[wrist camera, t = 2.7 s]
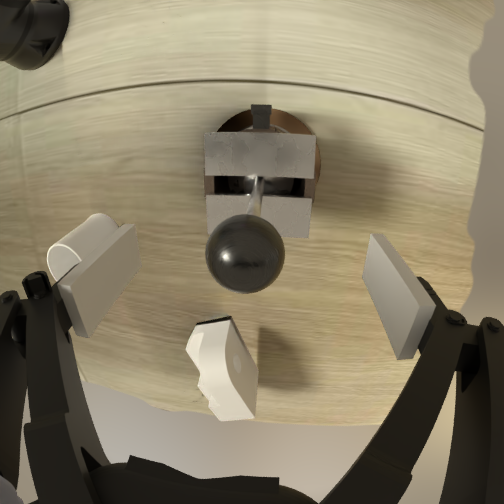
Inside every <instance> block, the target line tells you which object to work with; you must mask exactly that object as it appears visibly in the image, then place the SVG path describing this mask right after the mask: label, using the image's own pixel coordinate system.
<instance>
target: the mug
mask: <svg viewBox="0 0 504 504" xmlns="http://www.w3.org/2000/svg"><path fill="white" fill-rule="evenodd" d="M117 229H119V226H118V224H117V223H116V222H115V221H114V220H113V219H112V218H111V217H109V216H107V215H105V214H101V213H97V214H93V215H91V216H90V217H89V218H88V219H87V220H86V221H85V222H84V223H82V224H81V225H79V226H78V227H77V228H75V229H74V230H72V231H71V232H70V233H68V234H67V235H66V236H64V237H63V238H62V239H60V240H59V241H58V242H56V243H55V244H54V245H52V246H51V247H50V249H49V251H48V254H47V263H48V267H49V270H50V272H51V274H52V275H53V277H54V278H55V280H56V281H58V280H59V279H60V278H61V277H62V276H64V275H65V274H66V273H67V272H68V271H69V270H70V269H71V268H72V267H73V266H74V265H76V264H78V263H80V262H81V261H82V260H83V259H84V258H85V257H86V256H87V255H89V254H90V253H91V252H92V251H93V250H94V249H95V248H96V247H98V246H99V245H100V244H101V243H102V242H103V241H104V240H106V239H107V238H108V237H109V236H110V235H111V234H113V233H114V232H115V231H116V230H117Z"/></svg>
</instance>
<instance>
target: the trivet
mask: <svg viewBox="0 0 504 504" xmlns="http://www.w3.org/2000/svg"><path fill="white" fill-rule="evenodd" d="M270 124H272V125H276V126H279V127H281V128H283V129H285V130H287V131H288V132H289V133H291V134H306V135H312V134H311V132H310V131H309V130H308V128H307V127H306V126H305V125H304V124H303V123H302V122H301V121H299V120H298V119H296V118H295V117H294V116H292V115H290V114H288V113H286V112H283V111H280V110H276V109H272V115H270ZM250 125H253V114H251V109H250V110H247V111H243V112H241V113H239V114H237V115H235V116H233V117H231V118H230V119H228V120H227V121H226V122H225V123H224V124H223V125H222V126H221V127H220V128H219V129H218V131H217V132H238V131H240V130H241V129H243V128H245V127H247V126H250ZM320 167H321V160H320V153H319V149H318V146H317V143H316V149H315V166H314V170H315V173H316V180H315V186H316V184H317V181H318V178H319V174H320Z"/></svg>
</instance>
